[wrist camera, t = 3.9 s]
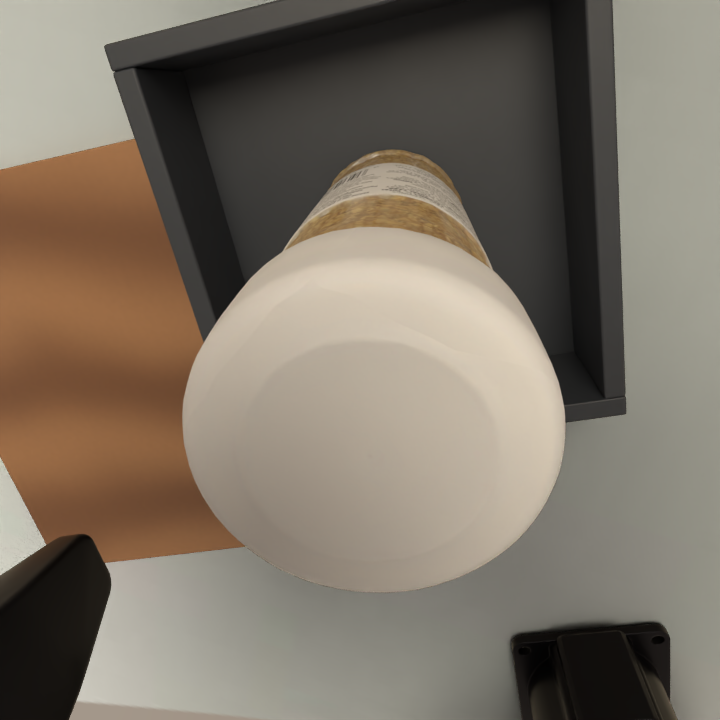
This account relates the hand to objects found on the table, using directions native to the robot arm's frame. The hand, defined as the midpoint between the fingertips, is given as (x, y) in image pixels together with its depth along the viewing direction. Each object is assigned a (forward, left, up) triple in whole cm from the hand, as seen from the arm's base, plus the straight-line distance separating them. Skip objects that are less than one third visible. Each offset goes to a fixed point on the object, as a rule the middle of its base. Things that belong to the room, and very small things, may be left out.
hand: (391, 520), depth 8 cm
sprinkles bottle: (+2, 0, -13) cm, 13 cm away
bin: (+2, 0, -13) cm, 13 cm away
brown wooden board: (-2, +12, -13) cm, 18 cm away
